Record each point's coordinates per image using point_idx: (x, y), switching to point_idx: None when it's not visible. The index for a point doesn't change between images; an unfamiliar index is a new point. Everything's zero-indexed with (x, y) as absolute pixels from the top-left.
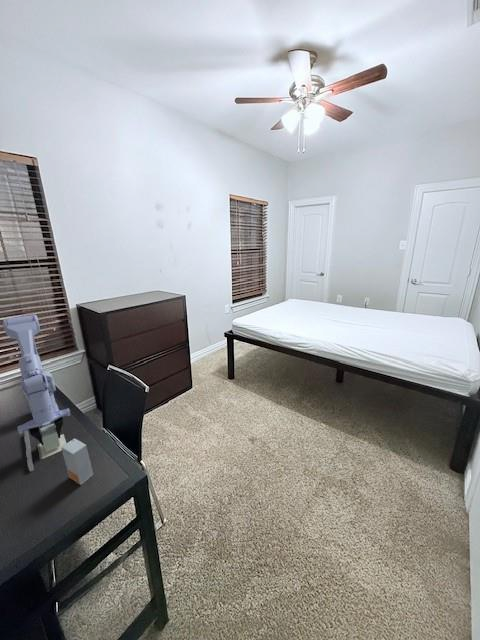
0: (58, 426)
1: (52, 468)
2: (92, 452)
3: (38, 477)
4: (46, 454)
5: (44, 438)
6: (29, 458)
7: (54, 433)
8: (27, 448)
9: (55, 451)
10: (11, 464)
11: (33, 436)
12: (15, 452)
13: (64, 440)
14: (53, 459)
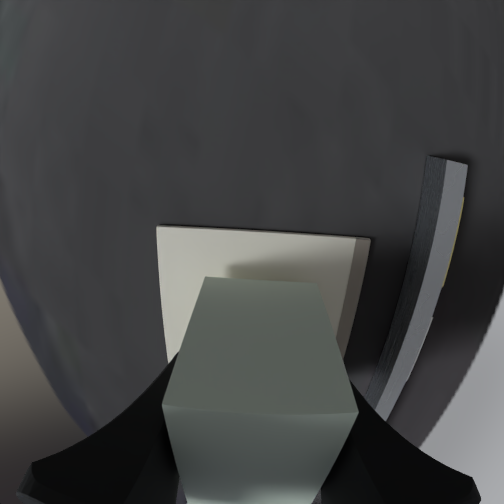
0: (107, 464)
1: (316, 51)
2: (39, 44)
3: (412, 46)
4: (318, 268)
5: (330, 393)
6: (432, 285)
7: (190, 400)
8: (393, 395)
9: (252, 251)
10: (472, 325)
11: (437, 461)
12: (420, 404)
13: (171, 333)
14: (287, 160)
